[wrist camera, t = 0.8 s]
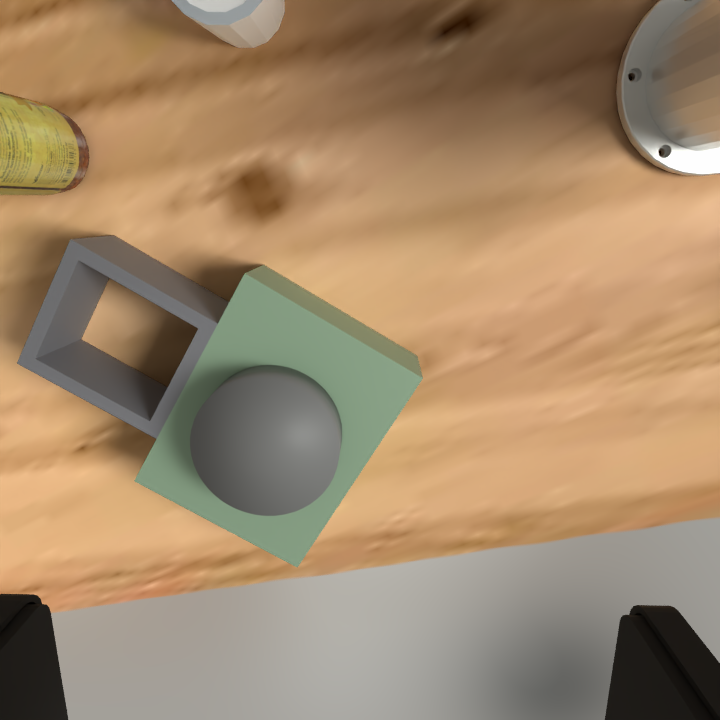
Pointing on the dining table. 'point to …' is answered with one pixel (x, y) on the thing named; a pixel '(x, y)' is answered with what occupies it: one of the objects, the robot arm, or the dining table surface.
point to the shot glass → (236, 19)
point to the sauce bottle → (39, 149)
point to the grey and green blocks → (233, 391)
